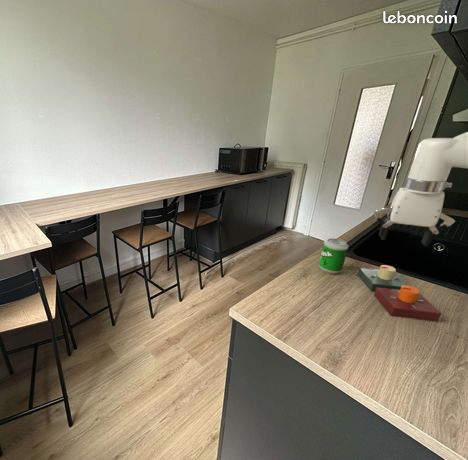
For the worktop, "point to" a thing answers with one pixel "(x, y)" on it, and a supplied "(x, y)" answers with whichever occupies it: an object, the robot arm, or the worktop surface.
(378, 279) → the handle plate
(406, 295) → the seal
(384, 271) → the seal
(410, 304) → the handle plate
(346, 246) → the soda can
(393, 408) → the worktop surface
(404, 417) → the worktop surface
